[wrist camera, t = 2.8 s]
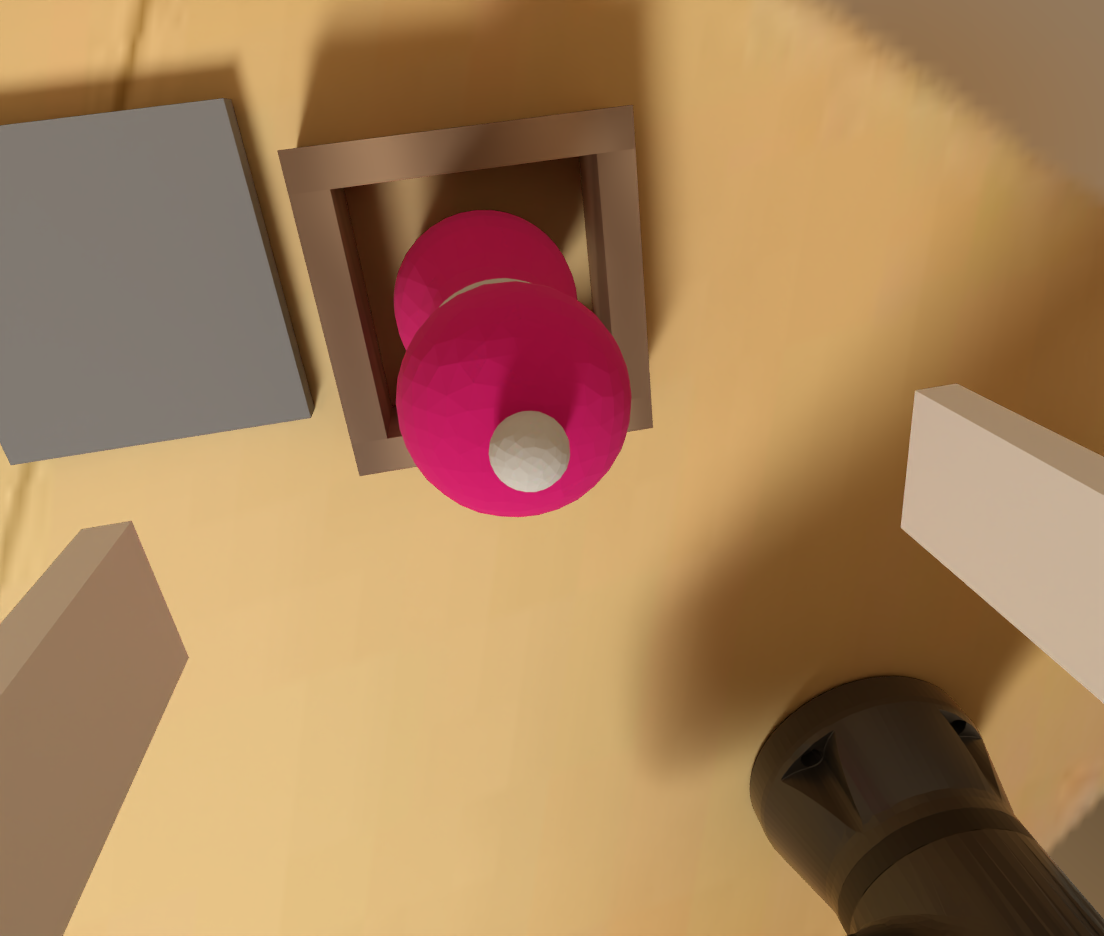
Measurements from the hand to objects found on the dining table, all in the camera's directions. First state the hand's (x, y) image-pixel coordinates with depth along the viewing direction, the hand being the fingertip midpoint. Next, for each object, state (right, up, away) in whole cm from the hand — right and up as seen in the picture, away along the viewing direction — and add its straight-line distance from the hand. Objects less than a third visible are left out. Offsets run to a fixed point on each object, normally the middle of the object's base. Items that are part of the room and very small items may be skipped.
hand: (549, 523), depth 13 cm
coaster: (-18, +8, +19) cm, 27 cm away
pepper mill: (-3, +9, +21) cm, 23 cm away
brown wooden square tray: (-3, +9, +21) cm, 23 cm away
